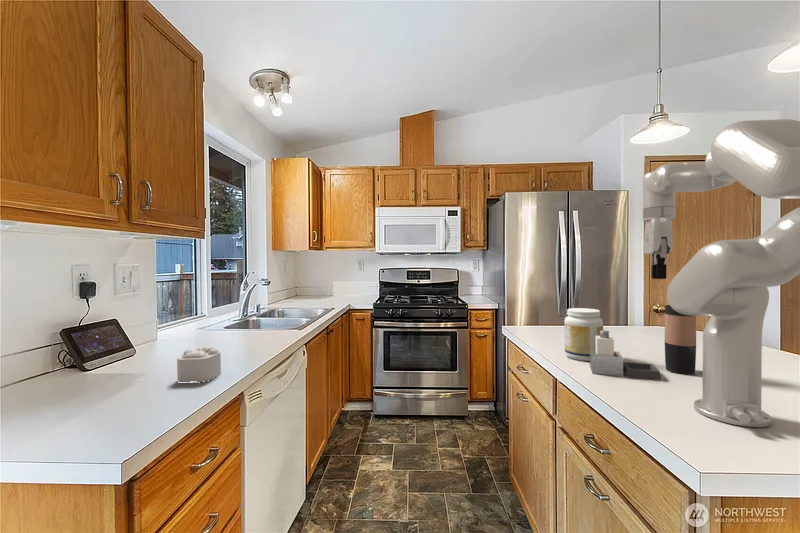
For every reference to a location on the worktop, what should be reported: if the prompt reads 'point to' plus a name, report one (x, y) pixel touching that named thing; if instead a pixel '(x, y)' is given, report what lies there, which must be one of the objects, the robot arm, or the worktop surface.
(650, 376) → the dark grey tray
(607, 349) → the plug
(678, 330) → the travel mug
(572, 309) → the supplement tub
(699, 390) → the worktop surface
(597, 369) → the port
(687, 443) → the worktop surface
